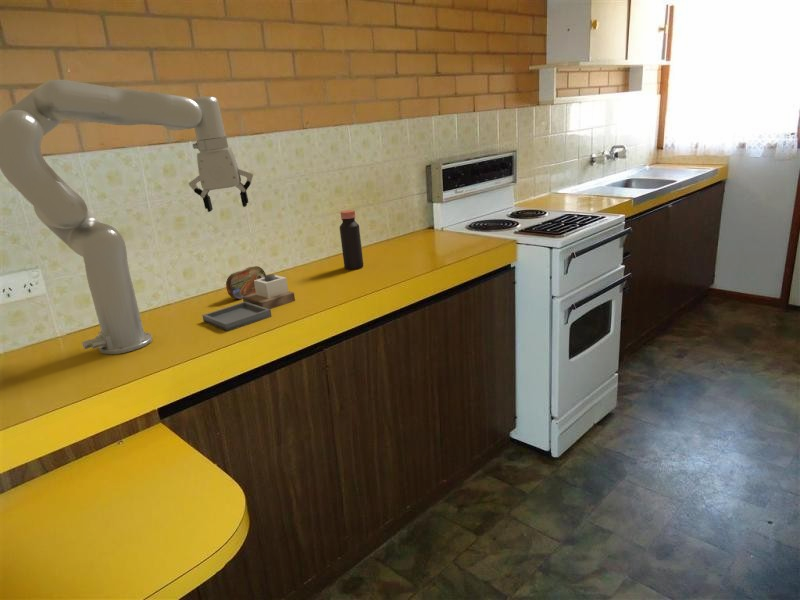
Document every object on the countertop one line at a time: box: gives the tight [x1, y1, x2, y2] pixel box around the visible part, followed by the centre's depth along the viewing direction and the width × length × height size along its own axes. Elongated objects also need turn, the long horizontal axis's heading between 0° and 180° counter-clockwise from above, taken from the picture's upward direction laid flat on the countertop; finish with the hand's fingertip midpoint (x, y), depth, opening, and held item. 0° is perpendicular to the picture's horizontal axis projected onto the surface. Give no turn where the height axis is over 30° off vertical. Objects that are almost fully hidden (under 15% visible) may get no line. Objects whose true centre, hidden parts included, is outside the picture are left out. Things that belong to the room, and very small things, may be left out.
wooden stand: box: [242, 273, 296, 310], centre depth 171 cm, size 11×11×8 cm
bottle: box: [339, 209, 364, 271], centre depth 200 cm, size 7×7×20 cm
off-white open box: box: [254, 274, 289, 298], centre depth 171 cm, size 7×7×4 cm
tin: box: [225, 265, 267, 300], centre depth 181 cm, size 15×3×8 cm, turn 148°
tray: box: [201, 301, 272, 332], centre depth 159 cm, size 14×14×2 cm
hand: (227, 208), depth 159 cm, fingers open, 9 cm apart
